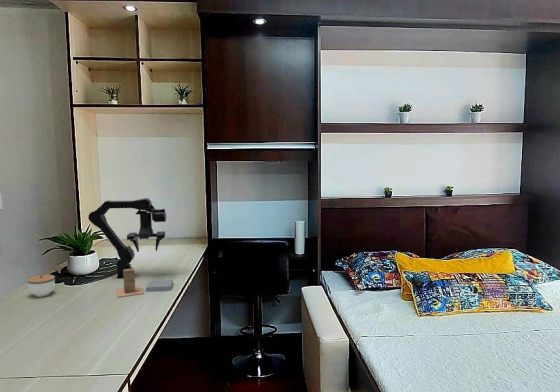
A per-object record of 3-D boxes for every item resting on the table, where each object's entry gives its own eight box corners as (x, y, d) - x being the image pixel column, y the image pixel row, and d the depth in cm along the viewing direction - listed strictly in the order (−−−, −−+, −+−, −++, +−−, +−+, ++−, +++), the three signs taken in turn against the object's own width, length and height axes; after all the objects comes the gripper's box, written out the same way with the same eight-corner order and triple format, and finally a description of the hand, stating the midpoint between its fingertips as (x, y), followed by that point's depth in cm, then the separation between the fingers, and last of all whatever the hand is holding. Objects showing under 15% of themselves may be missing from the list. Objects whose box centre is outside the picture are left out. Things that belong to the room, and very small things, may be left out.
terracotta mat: (116, 290, 189) (116, 289, 189) (140, 287, 194) (140, 286, 193) (117, 297, 179) (117, 296, 179) (143, 294, 184) (143, 292, 184)
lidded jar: (61, 292, 186) (60, 272, 185) (40, 299, 176) (39, 279, 175) (44, 289, 190) (42, 270, 189) (23, 297, 180) (21, 276, 179)
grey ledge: (146, 291, 187) (146, 287, 187) (150, 284, 198) (149, 280, 198) (170, 290, 189) (170, 286, 188) (172, 283, 199) (172, 279, 199)
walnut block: (124, 290, 187) (123, 269, 186) (134, 288, 189) (133, 268, 188) (124, 293, 183) (124, 272, 182) (135, 291, 185) (134, 270, 184)
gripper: (123, 225, 200) (125, 256, 202) (161, 224, 203) (163, 254, 204) (128, 222, 211) (130, 251, 213) (165, 220, 214) (166, 249, 215)
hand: (147, 251), depth 211 cm, fingers open, 9 cm apart
